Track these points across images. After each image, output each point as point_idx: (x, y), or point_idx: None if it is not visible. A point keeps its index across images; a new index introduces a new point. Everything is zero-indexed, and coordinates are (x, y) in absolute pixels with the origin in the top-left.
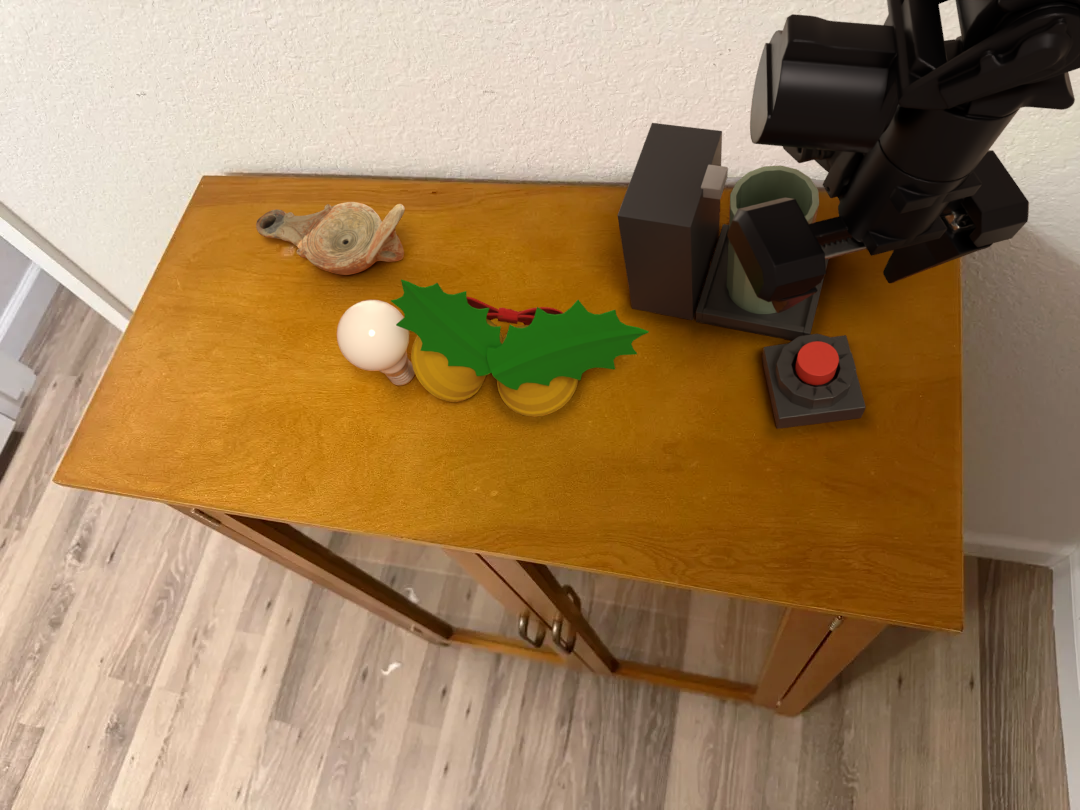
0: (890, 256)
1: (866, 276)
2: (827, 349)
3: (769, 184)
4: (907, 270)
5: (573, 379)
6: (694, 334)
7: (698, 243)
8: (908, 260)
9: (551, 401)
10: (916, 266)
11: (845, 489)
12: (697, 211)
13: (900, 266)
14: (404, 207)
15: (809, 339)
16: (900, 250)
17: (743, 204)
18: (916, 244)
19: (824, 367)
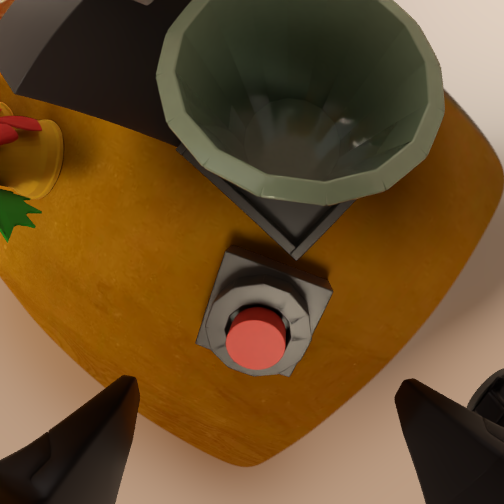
0: (430, 405)
1: (411, 206)
2: (275, 341)
3: (338, 15)
4: (416, 451)
5: (50, 176)
6: (175, 169)
7: (142, 77)
8: (431, 454)
9: (29, 195)
10: (423, 472)
11: (233, 400)
12: (68, 37)
13: (420, 433)
14: (2, 1)
15: (273, 296)
16: (444, 433)
17: (266, 28)
18: (457, 475)
19: (254, 361)
